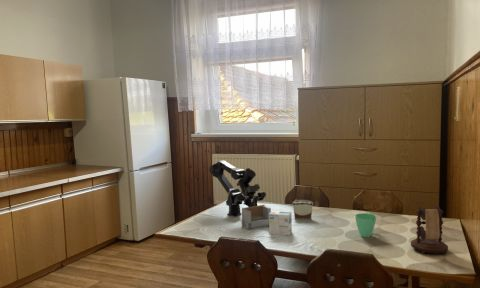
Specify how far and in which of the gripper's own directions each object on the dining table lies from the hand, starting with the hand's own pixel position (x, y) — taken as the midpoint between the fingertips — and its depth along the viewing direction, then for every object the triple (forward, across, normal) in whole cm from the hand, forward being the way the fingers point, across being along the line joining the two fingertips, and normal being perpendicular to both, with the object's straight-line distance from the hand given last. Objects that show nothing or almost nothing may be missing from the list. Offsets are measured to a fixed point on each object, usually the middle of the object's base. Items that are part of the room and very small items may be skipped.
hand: (255, 210), depth 210 cm
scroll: (+58, +45, -47) cm, 87 cm away
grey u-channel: (+8, -2, +2) cm, 9 cm away
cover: (+6, -2, +5) cm, 8 cm away
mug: (+37, +38, -26) cm, 59 cm away
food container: (+9, +29, +3) cm, 31 cm away
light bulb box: (+20, +3, -9) cm, 22 cm away
